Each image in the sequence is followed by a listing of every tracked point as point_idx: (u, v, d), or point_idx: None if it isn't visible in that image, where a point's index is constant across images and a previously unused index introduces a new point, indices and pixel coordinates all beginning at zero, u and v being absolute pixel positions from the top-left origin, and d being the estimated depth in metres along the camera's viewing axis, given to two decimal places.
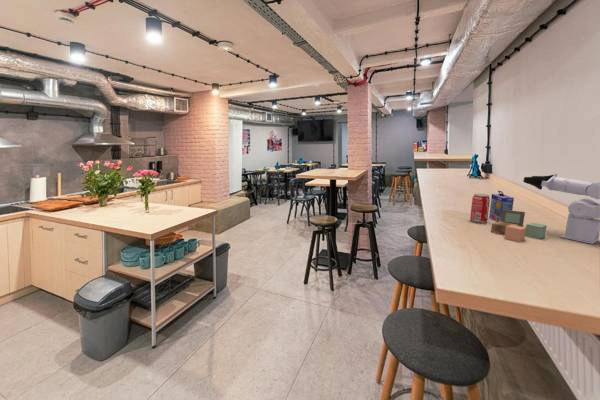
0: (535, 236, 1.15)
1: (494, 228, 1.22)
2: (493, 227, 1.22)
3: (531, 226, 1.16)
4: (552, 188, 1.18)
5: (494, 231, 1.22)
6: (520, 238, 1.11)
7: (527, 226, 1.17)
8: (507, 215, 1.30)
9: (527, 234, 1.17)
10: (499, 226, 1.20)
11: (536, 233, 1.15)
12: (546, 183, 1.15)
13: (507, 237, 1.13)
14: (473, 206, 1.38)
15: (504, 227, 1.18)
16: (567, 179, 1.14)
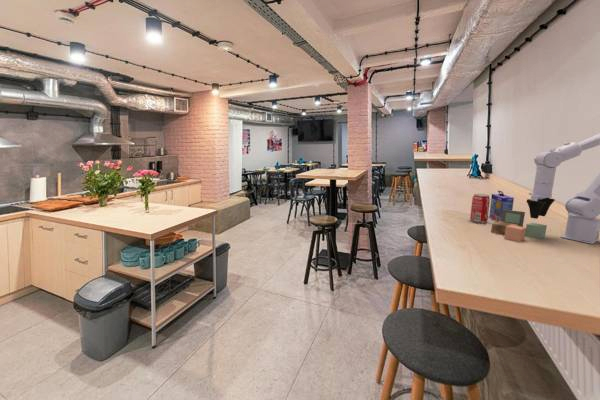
0: (535, 236, 1.15)
1: (494, 228, 1.22)
2: (493, 227, 1.22)
3: (531, 226, 1.16)
4: (546, 194, 1.11)
5: (494, 231, 1.22)
6: (520, 238, 1.11)
7: (527, 226, 1.17)
8: (507, 215, 1.30)
9: (527, 234, 1.17)
10: (499, 226, 1.20)
11: (536, 233, 1.15)
12: (533, 196, 1.10)
13: (507, 237, 1.13)
14: (473, 206, 1.38)
15: (504, 227, 1.18)
16: (534, 183, 1.14)
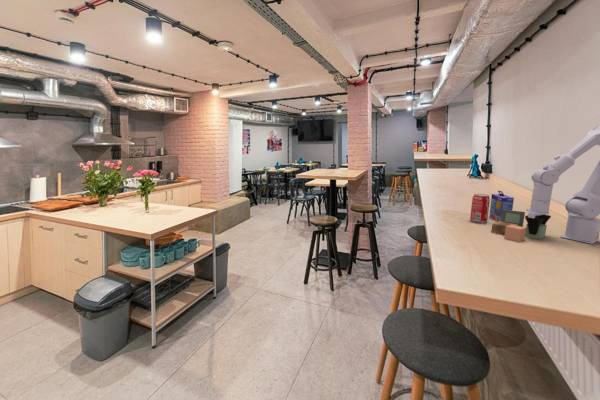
0: (535, 236, 1.15)
1: (494, 228, 1.21)
2: (493, 227, 1.22)
3: None
4: (543, 211, 1.12)
5: (494, 231, 1.21)
6: (520, 238, 1.11)
7: (527, 226, 1.17)
8: (507, 215, 1.30)
9: (527, 234, 1.17)
10: (500, 226, 1.20)
11: None
12: (530, 213, 1.12)
13: (507, 237, 1.13)
14: (473, 206, 1.38)
15: (505, 227, 1.18)
16: (531, 200, 1.16)
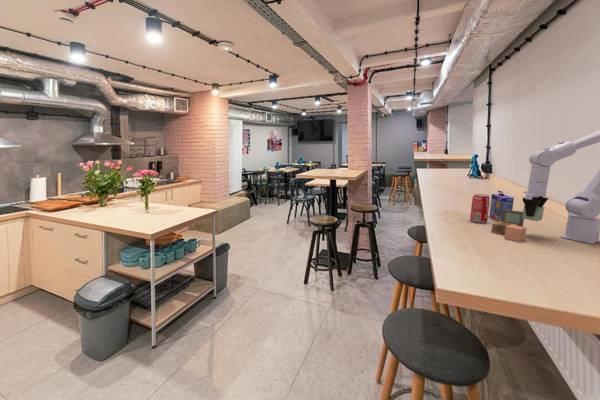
0: (532, 218, 1.14)
1: (494, 228, 1.21)
2: (494, 227, 1.21)
3: None
4: (540, 192, 1.12)
5: (495, 231, 1.21)
6: (520, 238, 1.11)
7: (524, 208, 1.16)
8: (507, 215, 1.30)
9: (524, 216, 1.16)
10: (500, 226, 1.20)
11: None
12: (527, 195, 1.11)
13: (507, 237, 1.13)
14: (473, 206, 1.38)
15: (505, 227, 1.18)
16: (529, 182, 1.15)
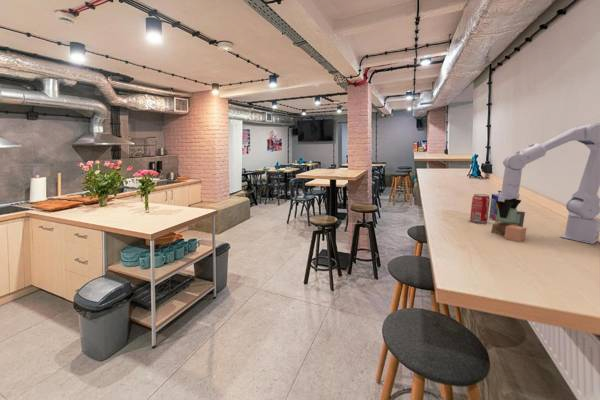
0: (505, 219, 1.19)
1: (494, 228, 1.21)
2: (494, 227, 1.21)
3: None
4: (512, 194, 1.16)
5: (495, 231, 1.21)
6: (520, 238, 1.11)
7: (498, 210, 1.20)
8: None
9: (498, 218, 1.21)
10: (500, 226, 1.20)
11: None
12: (500, 197, 1.15)
13: (507, 237, 1.13)
14: (473, 206, 1.38)
15: (505, 227, 1.18)
16: None
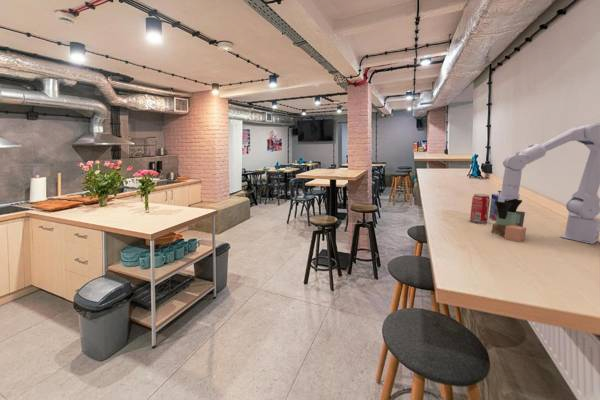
0: (506, 223, 1.19)
1: (494, 228, 1.21)
2: (494, 227, 1.21)
3: None
4: (512, 195, 1.16)
5: (495, 231, 1.21)
6: (520, 238, 1.11)
7: None
8: None
9: (498, 222, 1.21)
10: (500, 226, 1.20)
11: (507, 220, 1.18)
12: (500, 197, 1.15)
13: (507, 237, 1.13)
14: (473, 206, 1.38)
15: (505, 227, 1.18)
16: (502, 185, 1.19)
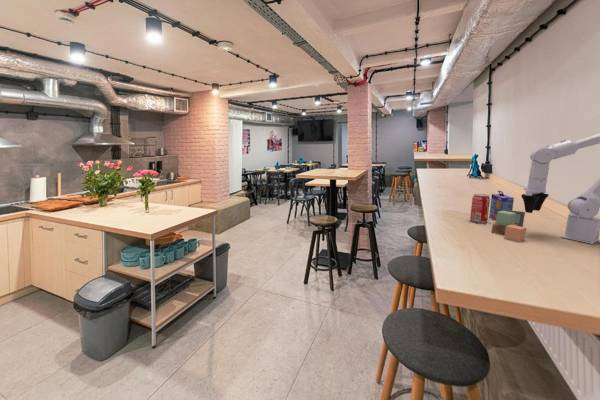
0: (505, 223, 1.19)
1: (494, 228, 1.21)
2: (494, 227, 1.21)
3: (501, 214, 1.20)
4: (540, 189, 1.15)
5: (495, 231, 1.21)
6: (520, 238, 1.11)
7: (498, 214, 1.21)
8: None
9: (498, 221, 1.21)
10: (500, 226, 1.20)
11: (506, 220, 1.19)
12: (527, 191, 1.14)
13: (507, 237, 1.13)
14: (473, 206, 1.38)
15: (505, 227, 1.18)
16: (529, 178, 1.18)
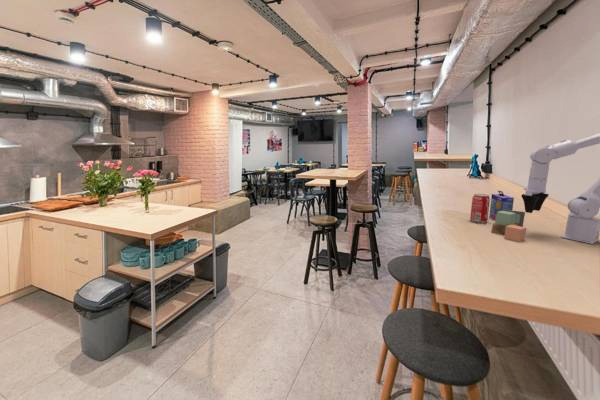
0: (504, 223, 1.19)
1: (494, 229, 1.21)
2: (494, 228, 1.21)
3: (501, 214, 1.20)
4: (540, 189, 1.15)
5: (495, 232, 1.21)
6: (520, 238, 1.11)
7: (497, 214, 1.21)
8: None
9: (497, 221, 1.21)
10: (500, 226, 1.19)
11: (505, 220, 1.19)
12: (527, 191, 1.14)
13: (507, 237, 1.13)
14: (473, 206, 1.38)
15: (505, 227, 1.18)
16: (529, 178, 1.18)
